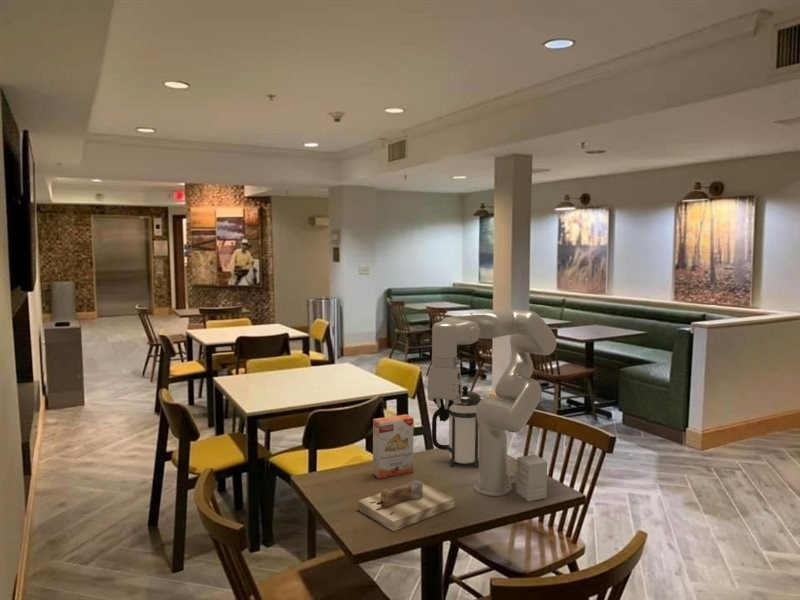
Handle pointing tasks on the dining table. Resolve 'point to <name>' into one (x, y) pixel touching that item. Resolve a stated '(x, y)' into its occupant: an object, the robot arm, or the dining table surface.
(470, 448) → the coffee press
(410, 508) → the dial board
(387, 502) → the lever
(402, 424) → the cracker box
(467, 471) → the dining table surface
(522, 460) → the supplement box
